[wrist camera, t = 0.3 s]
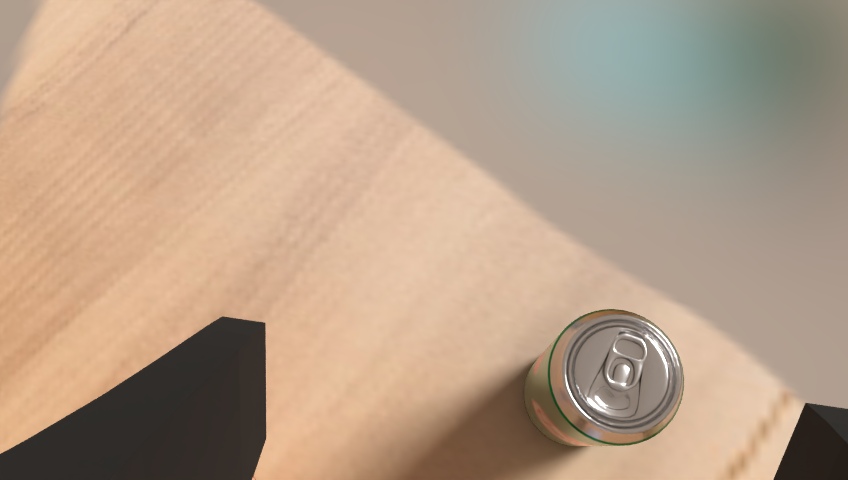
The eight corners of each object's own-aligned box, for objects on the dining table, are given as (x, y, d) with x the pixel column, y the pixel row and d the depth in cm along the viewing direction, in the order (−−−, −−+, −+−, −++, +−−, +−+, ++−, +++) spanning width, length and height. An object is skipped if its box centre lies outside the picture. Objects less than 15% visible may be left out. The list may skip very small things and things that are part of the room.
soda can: (509, 425, 37) (532, 414, 26) (540, 333, 38) (575, 284, 27) (604, 461, 37) (671, 467, 25) (632, 366, 38) (709, 331, 26)
